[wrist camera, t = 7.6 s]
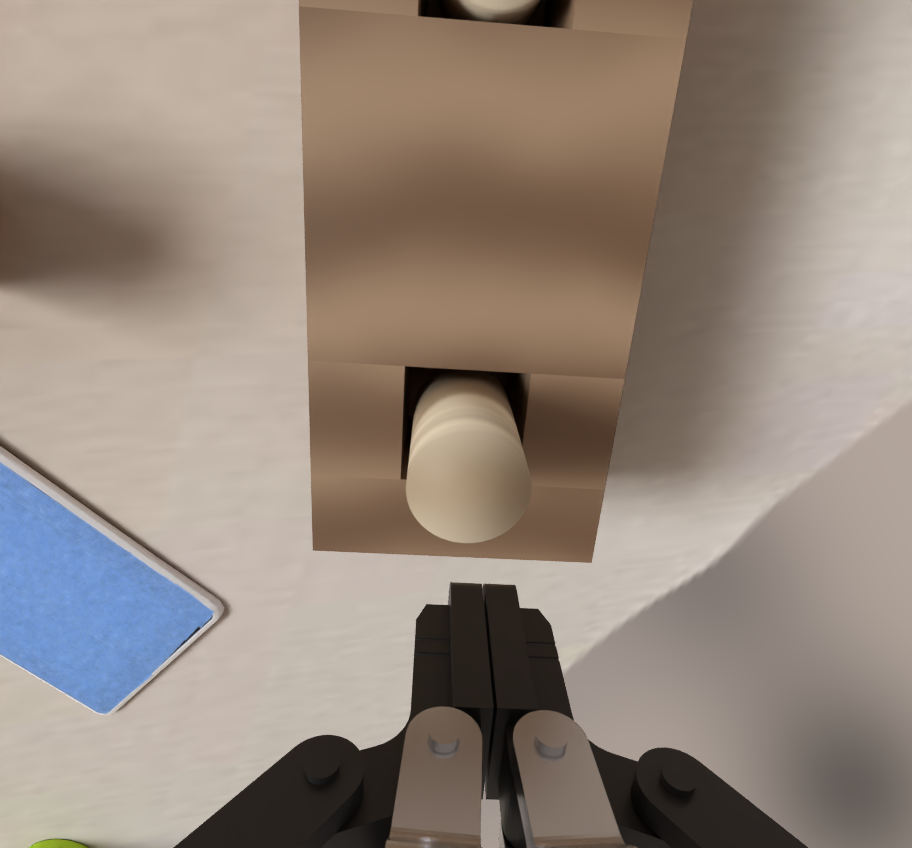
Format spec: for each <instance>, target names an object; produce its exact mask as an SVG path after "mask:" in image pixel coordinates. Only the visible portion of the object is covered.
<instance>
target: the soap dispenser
mask: <svg viewBox="0 0 912 848" xmlns="http://www.w3.org/2000/svg"><path fill="white" fill-rule="evenodd" d="M29 848H88V847H86V846H84V845H82V844H79V843H77V842H73V841H69V840H61V839H52V840H45V841H41V842H38V843H35V844H34V845H32V846H30V847H29Z"/></svg>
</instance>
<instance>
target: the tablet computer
mask: <svg viewBox="0 0 912 848" xmlns="http://www.w3.org/2000/svg"><path fill="white" fill-rule="evenodd" d="M223 611H224V606H223V604H222V602H221V601H220V600H219V599H218V598H217V597H216V596H214V595H213V594H211V593H210V592H208V591H207V590H205V589H204V588H202V587H201V586H199V585H198V584H196V583H195V582H193V581H192V580H190V579H189V578H188V577H186V576H185V575H183V574H182V573H180V572H179V571H177V570H176V569H174V568H173V567H171V566H170V565H168V564H167V563H165V562H164V561H162V560H161V559H159V558H158V557H157V556H155V555H154V554H152V553H151V552H149V551H148V550H147V549H145V548H144V547H142V546H141V545H140V544H138V543H137V542H135V541H134V540H132V539H131V538H130V537H128V536H127V535H125V534H124V533H122V532H121V531H119V530H118V529H117V528H115V527H114V526H112V525H111V524H110V523H108V522H107V521H105V520H104V519H102V518H101V517H100V516H98V515H97V514H95V513H94V512H93V511H91V510H90V509H88V508H87V507H86V506H84V505H83V504H81V503H80V502H79V501H77V500H76V499H74V498H73V497H72V496H70V495H69V494H67V493H66V492H65V491H63V490H62V489H60V488H59V487H58V486H56V485H55V484H53V483H52V482H50V481H49V480H48V479H46V478H45V477H43V476H42V475H40V474H39V473H38V472H36V471H35V470H33V469H32V468H30V467H29V466H28V465H26V464H25V463H23V462H22V461H21V460H19V459H18V458H16V457H15V456H14V455H12V454H11V453H10V452H8V451H7V450H5V449H4V448H3V447H1V446H0V656H2V657H4V658H5V659H7V660H9V661H10V662H12V663H13V664H15V665H17V666H19V667H20V668H22V669H24V670H25V671H27V672H29V673H30V674H32V675H33V676H35V677H37V678H39V679H40V680H42V681H44V682H45V683H47V684H49V685H50V686H52V687H54V688H55V689H57V690H59V691H60V692H62V693H64V694H65V695H67V696H69V697H70V698H72V699H74V700H75V701H77V702H79V703H80V704H82V705H84V706H85V707H87V708H89V709H90V710H92V711H94V712H95V713H97V714H101V715H111V714H113V713H115V712H116V711H117V710H118V709H119V708H120V707H122V706H123V705H124V704H125V703H126V702H127V701H128V700H129V699H131V698H132V697H133V696H134V695H135V694H136V693H137V692H138V691H139V690H140V689H142V688H143V687H144V686H145V685H146V684H147V683H148V682H149V681H151V680H152V679H153V678H154V677H155V676H156V675H157V674H158V673H159V672H160V671H161V670H163V669H164V668H165V667H166V666H167V665H168V664H169V663H171V662H172V661H173V660H174V659H175V658H176V657H177V656H178V655H180V654H181V653H182V652H183V651H184V650H185V649H186V648H187V647H188V646H190V645H191V644H192V643H193V642H194V641H195V640H196V639H197V638H198V637H200V636H201V635H202V634H203V633H204V632H205V631H206V630H207V629H208V628H209V627H211V626H212V625H213V624H214V623H215V622H216V621H217V620H218V619H219V618H220V617H221V615H222V614H223Z"/></svg>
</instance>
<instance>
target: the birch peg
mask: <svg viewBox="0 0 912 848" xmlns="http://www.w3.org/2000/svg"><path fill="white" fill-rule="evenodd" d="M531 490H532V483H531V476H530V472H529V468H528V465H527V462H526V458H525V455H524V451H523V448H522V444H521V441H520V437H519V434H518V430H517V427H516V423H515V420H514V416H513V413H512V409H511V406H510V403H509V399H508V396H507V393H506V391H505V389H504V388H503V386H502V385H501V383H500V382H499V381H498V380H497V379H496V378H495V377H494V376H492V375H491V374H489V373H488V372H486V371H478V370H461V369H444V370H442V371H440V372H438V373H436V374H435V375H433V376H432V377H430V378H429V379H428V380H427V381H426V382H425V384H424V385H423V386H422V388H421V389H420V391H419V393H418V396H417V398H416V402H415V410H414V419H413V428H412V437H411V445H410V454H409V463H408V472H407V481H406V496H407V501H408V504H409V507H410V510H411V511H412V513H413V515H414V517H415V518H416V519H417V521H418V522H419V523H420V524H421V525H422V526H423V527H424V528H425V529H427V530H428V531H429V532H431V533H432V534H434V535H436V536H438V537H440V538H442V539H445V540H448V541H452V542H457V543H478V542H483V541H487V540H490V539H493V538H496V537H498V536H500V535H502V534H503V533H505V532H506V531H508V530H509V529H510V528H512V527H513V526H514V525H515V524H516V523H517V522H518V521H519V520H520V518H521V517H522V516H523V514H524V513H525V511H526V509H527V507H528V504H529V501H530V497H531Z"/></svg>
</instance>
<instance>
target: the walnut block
mask: <svg viewBox="0 0 912 848" xmlns="http://www.w3.org/2000/svg"><path fill="white" fill-rule="evenodd" d="M692 5H693V0H541V1H540V3H539V4H538V6H537V8H536V9H535V11H534V13H533V15H532V16H531V18H530V20H529V21H528V23H527V24H526V25H516V24H504V23H492V22H480V21H468V20H456V19H445V18H443V16H442V14H441V11H440V8H439V4H438V0H299V24H300V64H301V103H302V142H303V181H304V220H305V259H306V298H307V337H308V376H309V416H310V455H311V494H312V533H313V550H316V551H339V552H361V553H384V554H407V555H429V556H452V557H474V558H497V559H520V560H542V561H565V562H587V563H592V557H593V552H594V546H595V541H596V535H597V529H598V524H599V518H600V513H601V507H602V502H603V496H604V491H605V485H606V480H607V474H608V469H609V463H610V458H611V452H612V447H613V441H614V436H615V430H616V425H617V419H618V414H619V408H620V403H621V397H622V392H623V386H624V381H625V375H626V369H627V364H628V358H629V353H630V347H631V342H632V336H633V331H634V325H635V320H636V314H637V309H638V303H639V298H640V292H641V287H642V281H643V276H644V270H645V265H646V259H647V254H648V248H649V243H650V237H651V232H652V226H653V221H654V215H655V209H656V204H657V198H658V193H659V187H660V182H661V176H662V171H663V165H664V160H665V154H666V149H667V143H668V138H669V132H670V127H671V121H672V116H673V110H674V105H675V99H676V94H677V88H678V83H679V77H680V72H681V66H682V61H683V55H684V49H685V44H686V38H687V33H688V27H689V22H690V16H691V11H692ZM444 369H461V370H478V371H486V372H488V373H489V374H491V375H492V376H494V377H495V378H496V379H497V380H498V381H499V382H500V383H501V385H502V386H503V388H504V389H505V391H506V393H507V396H508V399H509V403H510V406H511V409H512V413H513V416H514V420H515V423H516V427H517V430H518V434H519V437H520V441H521V444H522V448H523V451H524V455H525V458H526V462H527V465H528V468H529V472H530V476H531V483H532V490H531V497H530V501H529V504H528V507H527V509H526V511H525V513H524V514H523V516H522V517H521V518H520V520H519V521H518V522H517V523H516V524H515V525H514V526H513V527H512V528H510V529H509V530H508V531H506V532H505V533H503V534H502V535H500V536H498V537H496V538H493V539H490V540H487V541H483V542H478V543H457V542H452V541H448V540H445V539H442V538H440V537H438V536H436V535H434V534H432V533H431V532H429V531H428V530H427V529H425V528H424V527H423V526H422V525H421V524H420V523H419V522H418V521H417V519H416V518H415V517H414V515H413V513H412V511H411V510H410V507H409V504H408V501H407V496H406V481H407V472H408V463H409V454H410V445H411V437H412V428H413V419H414V410H415V402H416V398H417V396H418V393H419V391H420V389H421V388H422V386H423V385H424V384H425V382H426V381H427V380H428V379H429V378H430V377H432V376H433V375H435V374H436V373H438V372H440V371H442V370H444Z"/></svg>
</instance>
